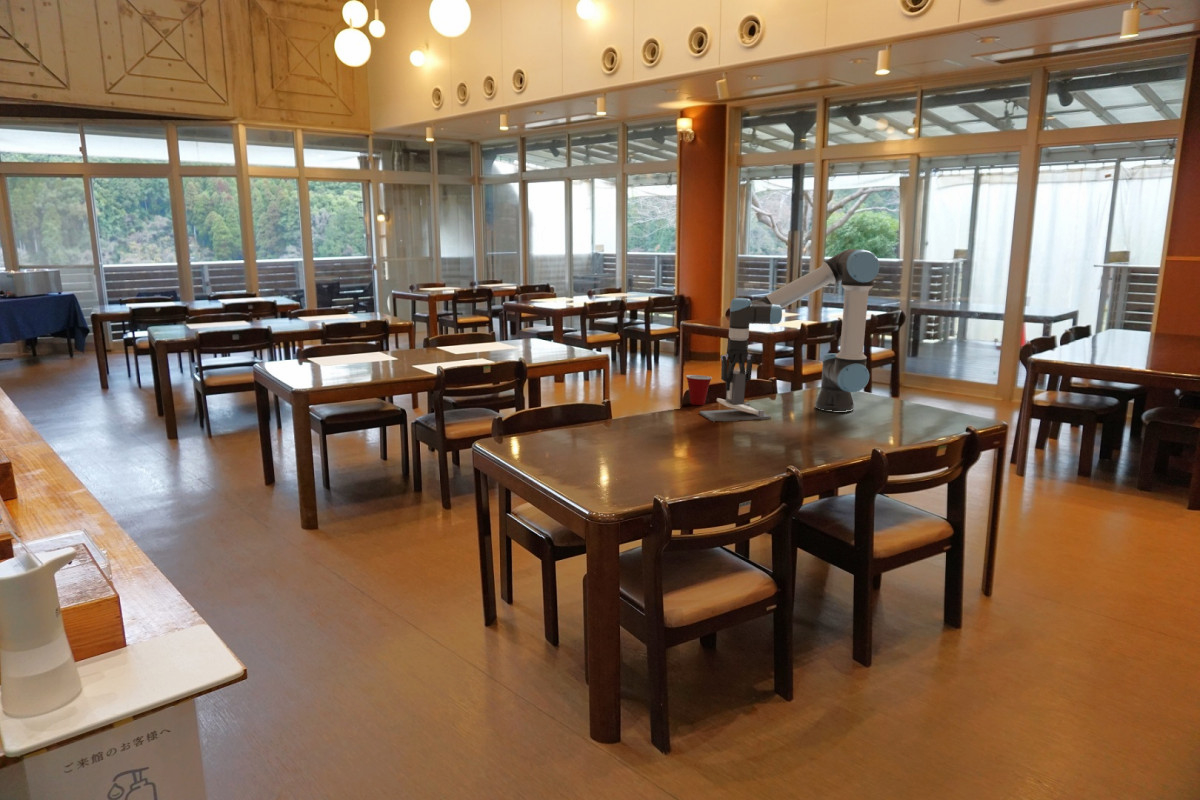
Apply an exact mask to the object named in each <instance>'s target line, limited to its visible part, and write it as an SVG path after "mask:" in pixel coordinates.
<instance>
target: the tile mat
mask: <svg viewBox="0 0 1200 800" xmlns="http://www.w3.org/2000/svg"><path fill="white" fill-rule="evenodd" d="M744 405H747V406H749V407H750V402H744ZM754 409H755V410H757V411H759V414H758V415H755V414H751V413H747V412H743V411H739V410H735V409H718V410H716V409H715V410H700V411H699V414H700V415H701V416H703V417H704V418H706V419H707V418H708V419H707V420H709V421H711V422H712V421H713V422H712V423H715V421H723V422H735V421H736V422H737V421H738V420H742V421H754V420H753V419H761V420H768V419H767V418H771V419H772V416H771V415H769V414H767V413H765V410H763V409H757V408H754Z"/></svg>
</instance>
